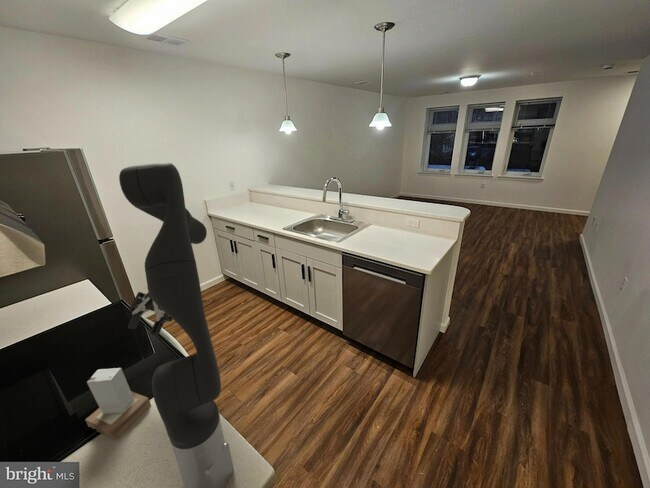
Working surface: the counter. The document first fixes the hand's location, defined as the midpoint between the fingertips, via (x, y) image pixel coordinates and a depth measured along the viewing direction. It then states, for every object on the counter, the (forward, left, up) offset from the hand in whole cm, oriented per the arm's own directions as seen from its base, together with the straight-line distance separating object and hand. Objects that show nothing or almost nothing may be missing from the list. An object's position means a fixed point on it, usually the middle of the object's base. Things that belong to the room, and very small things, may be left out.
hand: (142, 331), depth 77 cm
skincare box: (0, +11, -17) cm, 20 cm away
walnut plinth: (0, +12, -20) cm, 23 cm away
